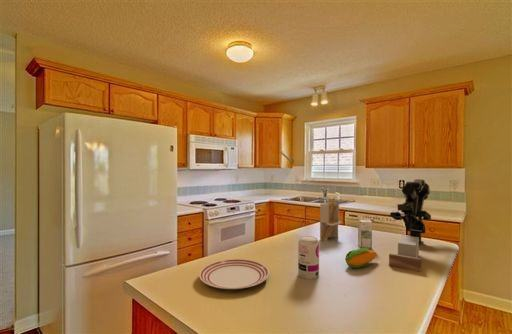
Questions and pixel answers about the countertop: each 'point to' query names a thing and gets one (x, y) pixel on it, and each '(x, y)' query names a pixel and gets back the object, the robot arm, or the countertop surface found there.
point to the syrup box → (364, 233)
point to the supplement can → (308, 257)
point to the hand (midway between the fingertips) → (407, 231)
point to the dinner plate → (234, 274)
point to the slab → (408, 246)
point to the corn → (360, 257)
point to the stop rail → (405, 262)
